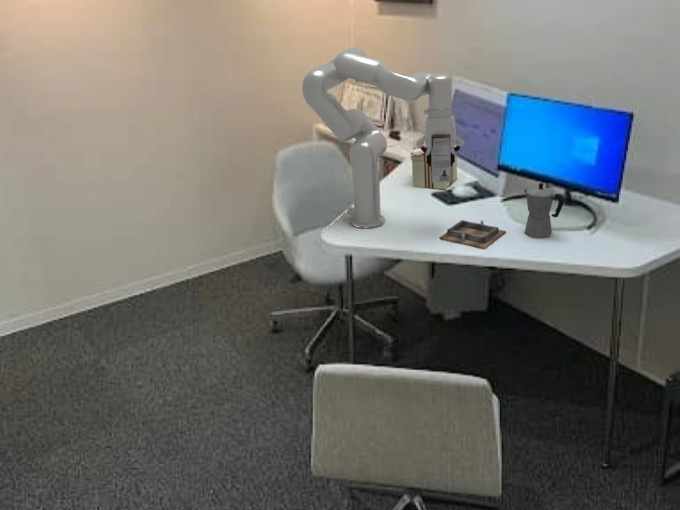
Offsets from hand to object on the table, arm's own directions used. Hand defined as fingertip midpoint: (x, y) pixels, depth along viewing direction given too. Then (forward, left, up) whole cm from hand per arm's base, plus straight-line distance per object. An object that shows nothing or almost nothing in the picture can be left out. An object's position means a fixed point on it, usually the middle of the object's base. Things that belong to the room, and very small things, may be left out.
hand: (440, 164), depth 244 cm
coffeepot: (+31, +14, -24) cm, 42 cm away
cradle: (+12, +1, -24) cm, 27 cm away
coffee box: (0, 0, -5) cm, 5 cm away
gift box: (-29, +43, -24) cm, 57 cm away
